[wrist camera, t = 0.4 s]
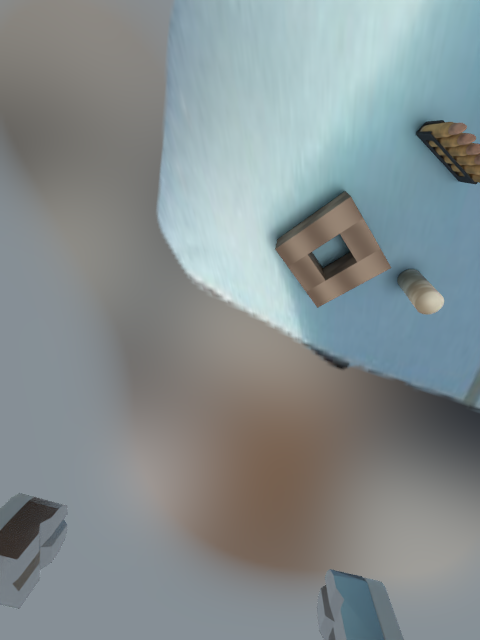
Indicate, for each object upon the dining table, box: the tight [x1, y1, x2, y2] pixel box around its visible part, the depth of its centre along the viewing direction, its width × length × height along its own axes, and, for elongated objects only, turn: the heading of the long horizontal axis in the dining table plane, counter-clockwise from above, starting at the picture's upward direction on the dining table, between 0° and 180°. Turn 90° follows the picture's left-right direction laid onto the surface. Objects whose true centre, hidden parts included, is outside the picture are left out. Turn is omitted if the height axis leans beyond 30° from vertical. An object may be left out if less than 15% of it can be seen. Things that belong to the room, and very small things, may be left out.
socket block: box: [275, 191, 391, 308], centre depth 50 cm, size 14×14×6 cm
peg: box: [397, 269, 444, 314], centre depth 49 cm, size 4×4×10 cm
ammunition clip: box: [416, 120, 480, 184], centre depth 37 cm, size 11×2×12 cm, turn 53°
